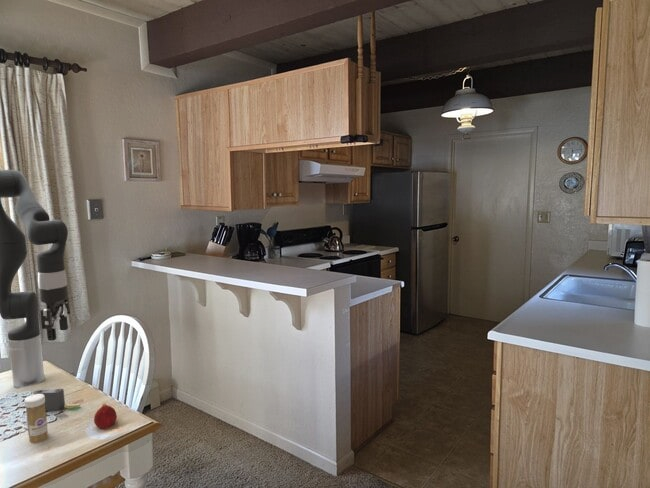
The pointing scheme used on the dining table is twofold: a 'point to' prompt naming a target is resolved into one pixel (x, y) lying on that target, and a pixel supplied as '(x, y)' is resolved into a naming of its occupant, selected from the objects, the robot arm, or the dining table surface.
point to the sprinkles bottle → (36, 418)
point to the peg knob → (54, 399)
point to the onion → (105, 417)
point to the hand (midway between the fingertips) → (58, 334)
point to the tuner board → (69, 409)
